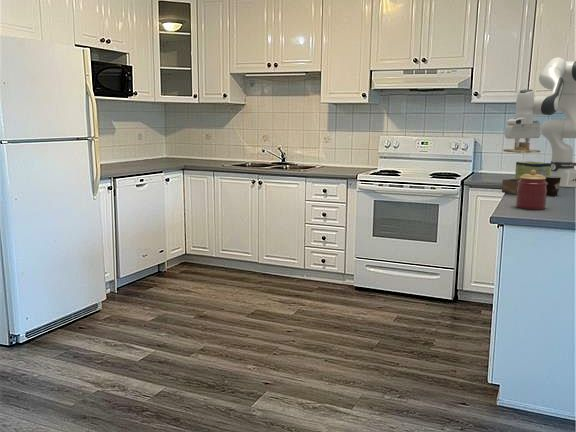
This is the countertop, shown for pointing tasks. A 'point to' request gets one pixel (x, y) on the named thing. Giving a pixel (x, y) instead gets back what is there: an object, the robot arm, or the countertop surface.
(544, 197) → the canister
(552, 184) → the coffee mug
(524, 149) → the lid
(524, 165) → the protein box
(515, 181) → the open wooden box
